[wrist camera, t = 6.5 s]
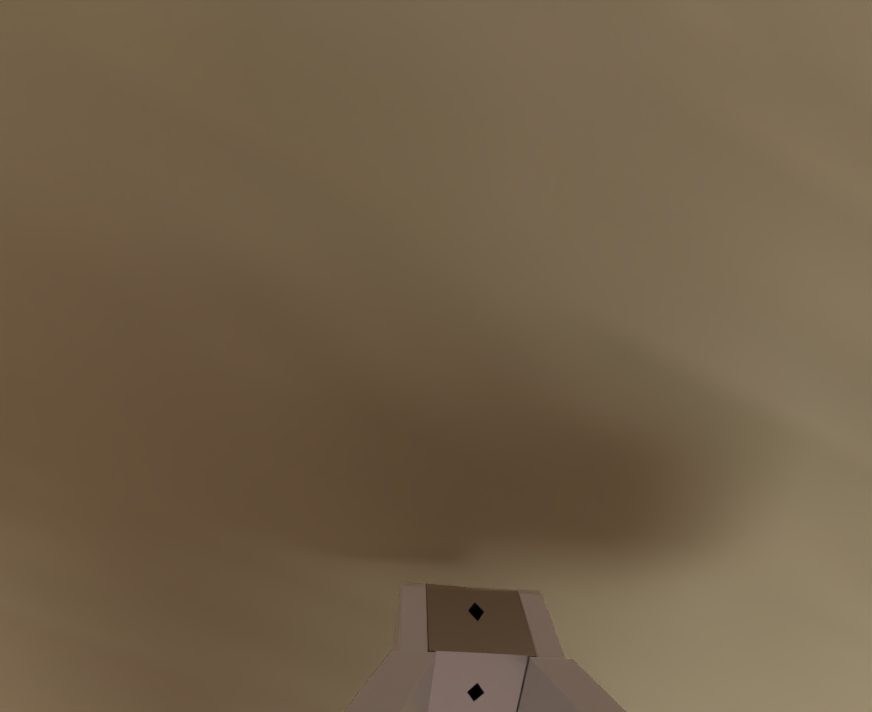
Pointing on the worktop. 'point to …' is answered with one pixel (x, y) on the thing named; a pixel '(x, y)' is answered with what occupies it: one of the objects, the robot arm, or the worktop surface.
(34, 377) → the worktop surface
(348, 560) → the worktop surface
